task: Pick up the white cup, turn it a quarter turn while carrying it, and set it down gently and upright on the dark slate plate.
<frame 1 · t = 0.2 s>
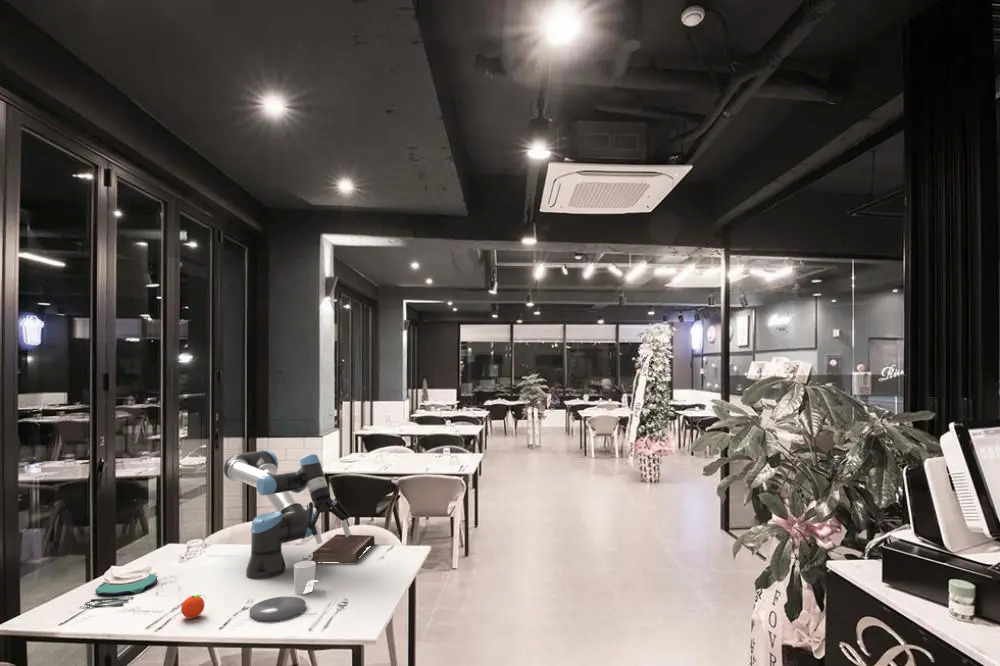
hand: (334, 539, 231), 16 cm above the table, tool tilted 35°, fingers open, 13 cm apart
clementine: (194, 617, 195), on the table
white cup: (304, 592, 218), on the table
slate plate: (277, 610, 200), on the table
cutlery set: (120, 594, 218), on the table
hardback book: (345, 555, 264), on the table
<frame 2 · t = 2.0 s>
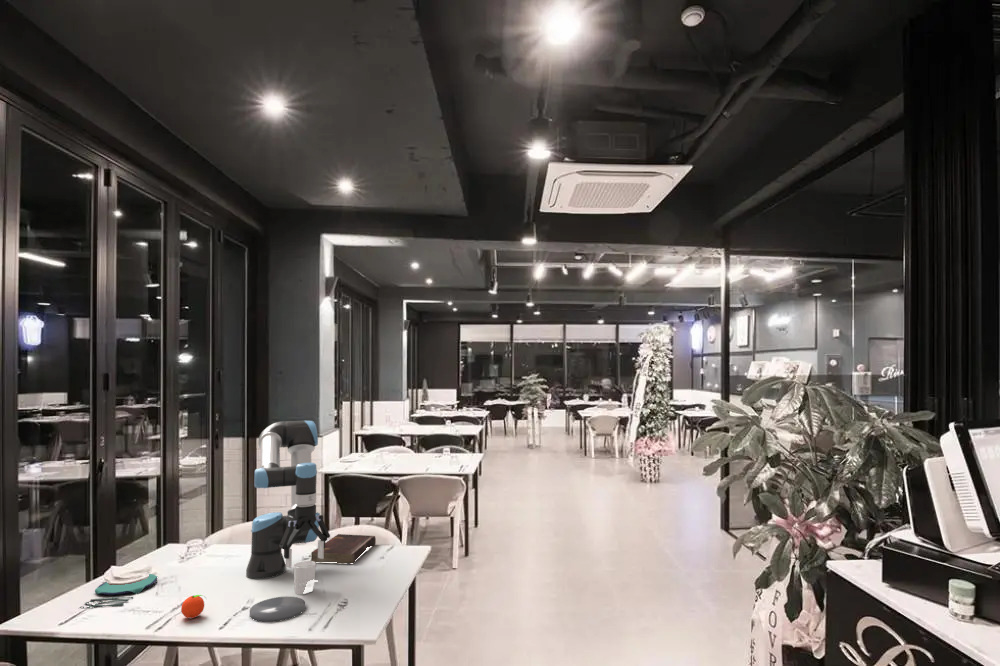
hand: (305, 562, 218), 11 cm above the table, tool pointing down, fingers open, 13 cm apart
nothing on the table moved.
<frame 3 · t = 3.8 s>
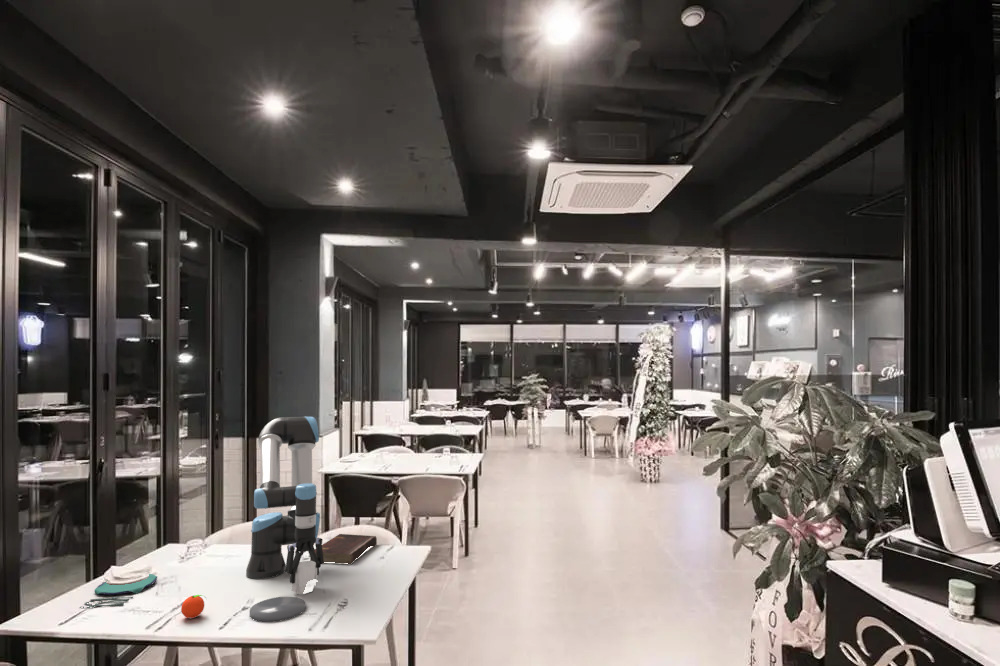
hand: (304, 588, 218), 1 cm above the table, tool pointing down, fingers closed on white cup, 8 cm apart
white cup: (304, 591, 218), on the table, touching gripper
everything else where it was.
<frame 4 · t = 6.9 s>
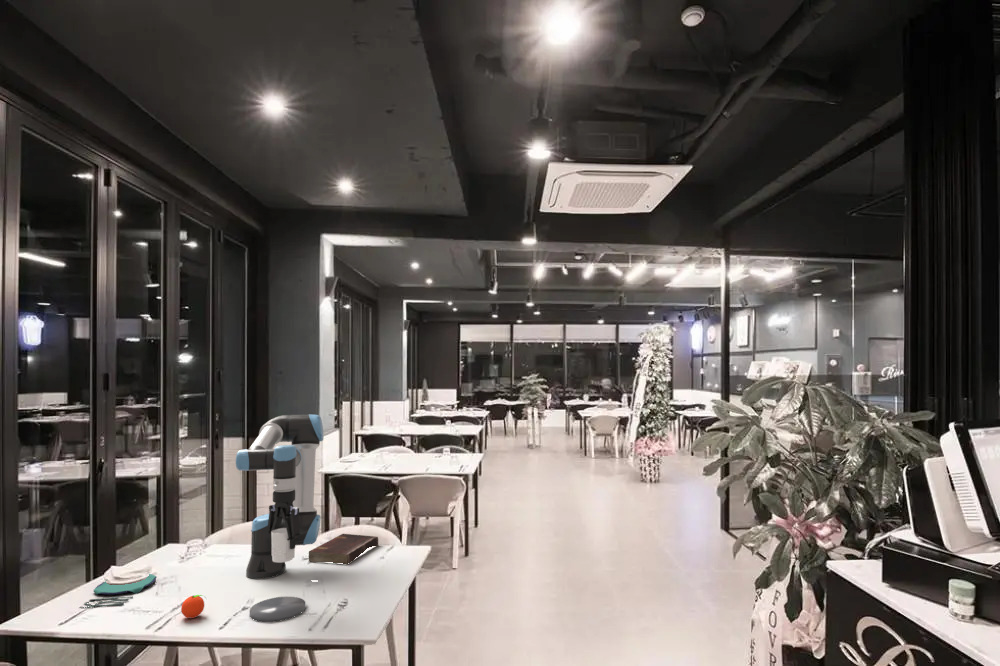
hand: (282, 556, 203), 18 cm above the table, tool pointing down, fingers closed on white cup, 8 cm apart
white cup: (282, 560, 203), point 16 cm above the table, touching gripper
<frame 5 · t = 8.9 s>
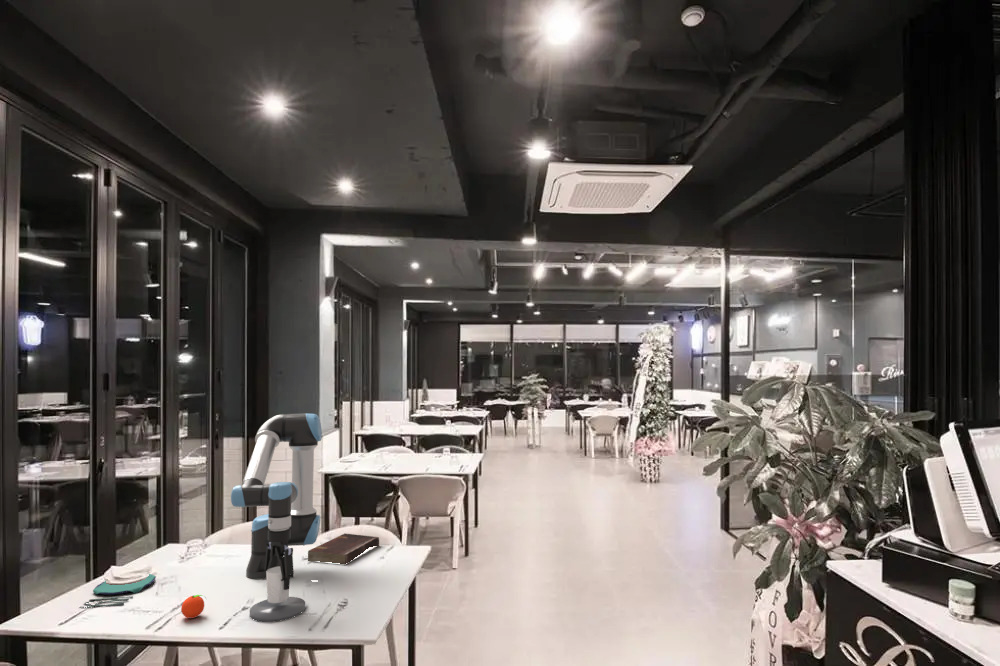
hand: (278, 596, 200), 5 cm above the table, tool pointing down, fingers closed on white cup, 8 cm apart
white cup: (278, 600, 200), point 4 cm above the table, touching gripper
when the fingers open (4 cm above the table, at t = 10.2 s): white cup drops 1 cm, resting on slate plate.
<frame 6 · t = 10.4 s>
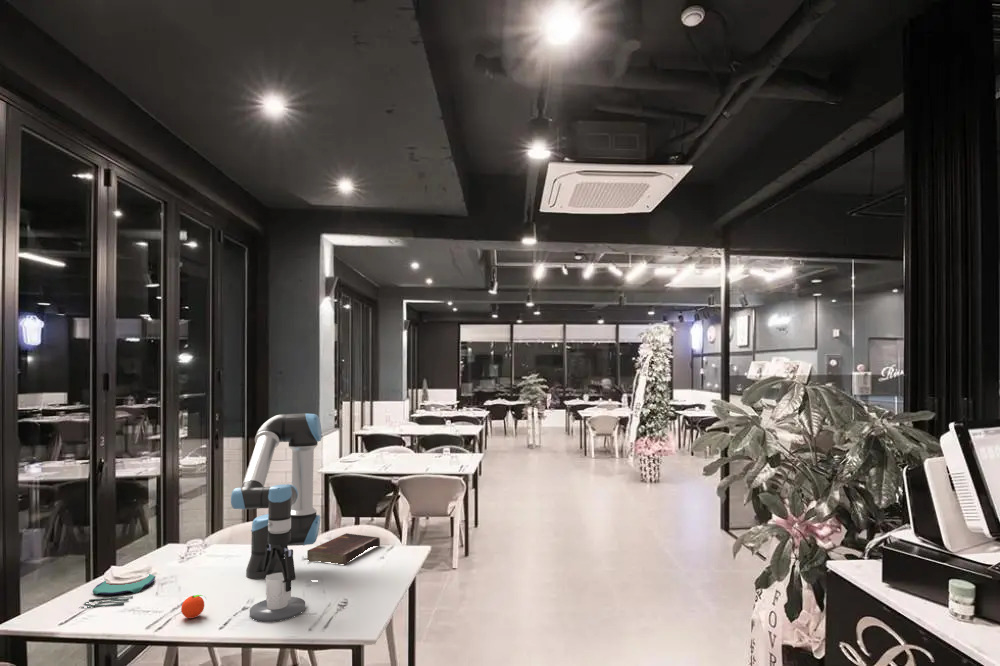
hand: (278, 596, 200), 5 cm above the table, tool pointing down, fingers open, 10 cm apart
white cup: (277, 606, 200), point 1 cm above the table, touching slate plate
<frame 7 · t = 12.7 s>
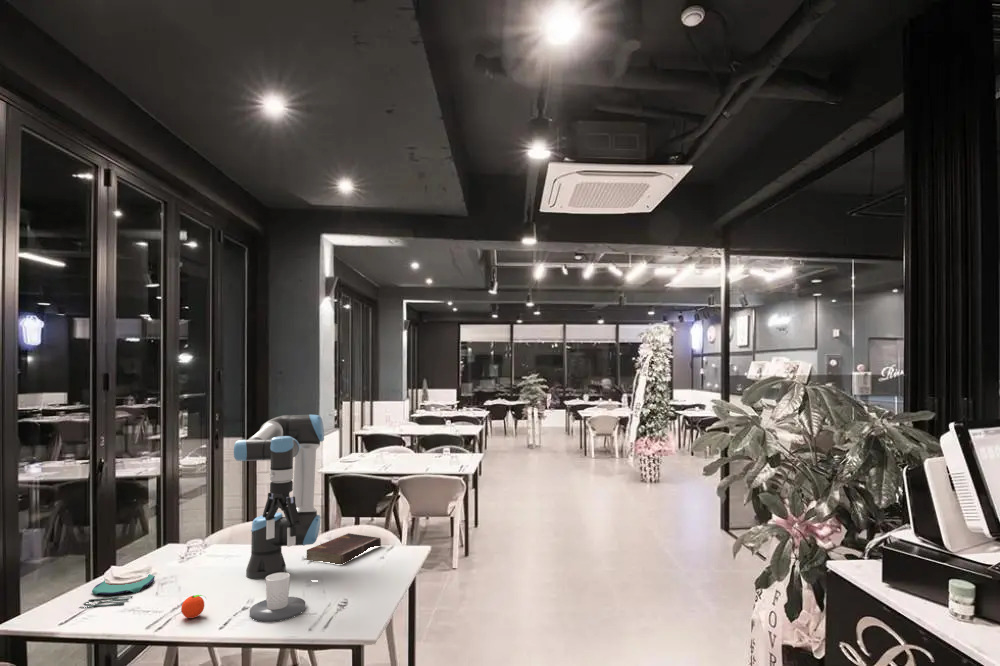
hand: (280, 542, 204), 22 cm above the table, tool pointing down, fingers open, 13 cm apart
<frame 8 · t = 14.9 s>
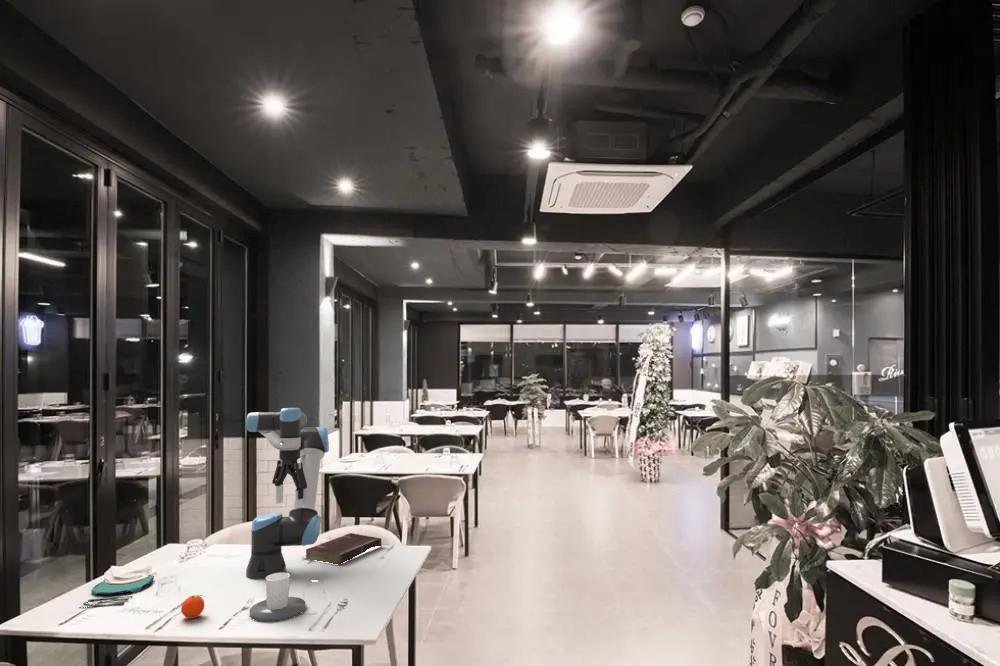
hand: (288, 505, 220), 32 cm above the table, tool pointing down, fingers open, 13 cm apart
at the end: white cup inside the target area on the slate plate (0.4 cm from its centre), point 1.3 cm above the slate plate's base; white cup tilted 0°; the gripper is holding nothing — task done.
